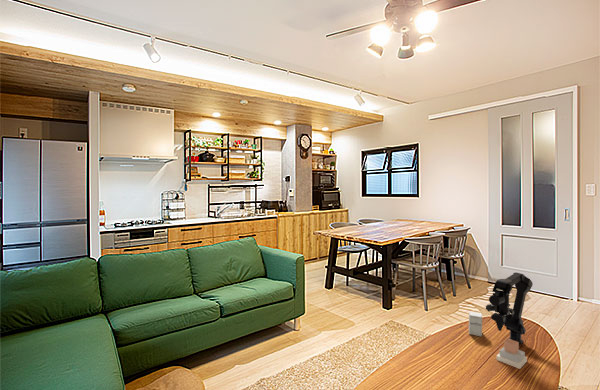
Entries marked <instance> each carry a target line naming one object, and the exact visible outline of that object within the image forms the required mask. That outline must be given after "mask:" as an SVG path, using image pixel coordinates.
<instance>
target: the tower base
mask: <svg viewBox="0 0 600 390" xmlns="http://www.w3.org/2000/svg"><path fill="white" fill-rule="evenodd" d="M499 354H500V352H499V353H498V354H496V361H498V362H501V363H504V364H505V365H509V366H512V367H514V368H516V369H519V370H520V369H521V368H522V367H524V366H525V364H526V363H527V361H528V357H527V356H525V358H524V359H522V360H521V361H520V362H519V363H517V362H514V361H512V360H509V359H506V358H504V357H501V356H499Z"/></svg>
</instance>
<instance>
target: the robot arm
mask: <svg viewBox="0 0 600 390" xmlns="http://www.w3.org/2000/svg"><path fill="white" fill-rule="evenodd" d="M513 286H515V290H516V292H515V297H514V303H513V306H512V307H513V308H512V307H511V303H510V294H511V293H512V290H513ZM532 287H533V281H532V280H531V279H530V278H529V277H527V276H525V274H523V273H520V272H513V274H511V275H510V276H508V277H506V278H499V279H496V281H495V282H494V285H493V288H492V295H490V296H489V297H488V302H489V304H486V305H485V310H487V312H494V313H492V314H491V315H490V319H491V320H493V322H495V325H496V326H497V330H498V331H499V332H501V331H502V329H503V327H505V330H506V331H507V330H508V331H509V338H508V339H511V340H514V341H517V342H519V345H521V344H523V342H524V339H522V335H526V328H525V326H524V320H523V317H522V314H523V310H524V306H525V301H526V296H527V294H529V292H530V291H531V289H532Z"/></svg>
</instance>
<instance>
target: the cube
mask: <svg viewBox="0 0 600 390" xmlns="http://www.w3.org/2000/svg"><path fill="white" fill-rule="evenodd" d="M503 343H504V345H503V347H504V350H505V351H508V352H510V353H513V354H516V353H517V352H518V351H519V350H520V349H519V348H520V346H519V345H520V344H519V342H517V341H514V340H511V339H509V338H507V339H506V340H504V341H503Z"/></svg>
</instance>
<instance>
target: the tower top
mask: <svg viewBox="0 0 600 390" xmlns="http://www.w3.org/2000/svg"><path fill="white" fill-rule="evenodd" d="M499 353H500V354H499ZM499 353H498V354H499V356H501V357H504V358H506V359H509V360H512V361H514V362H517V363H519V362H520V361H521V360H522V359H524V358H525V357H526V352H525V351H523V350H521V349H519V351H518V352H517V353H516V354H513V353H510V352H508V351H505V350H504V346H503V347H502V348H500V349H499Z"/></svg>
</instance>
